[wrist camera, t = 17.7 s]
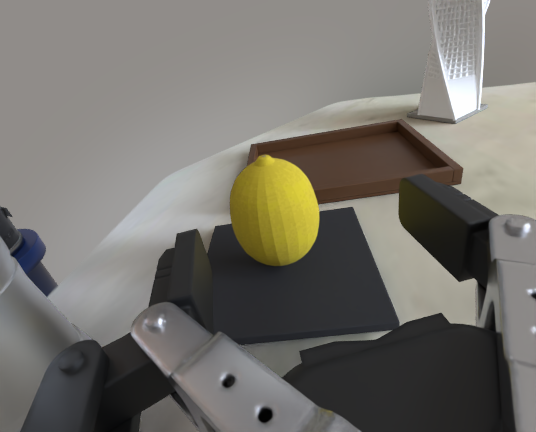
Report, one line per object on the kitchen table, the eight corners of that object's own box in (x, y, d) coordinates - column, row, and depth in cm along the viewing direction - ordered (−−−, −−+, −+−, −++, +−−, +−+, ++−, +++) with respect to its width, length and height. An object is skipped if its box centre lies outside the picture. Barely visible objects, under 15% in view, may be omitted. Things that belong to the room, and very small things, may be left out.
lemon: (323, 291, 19) (309, 171, 15) (237, 292, 21) (202, 182, 16) (324, 237, 24) (313, 133, 20) (253, 240, 25) (229, 144, 21)
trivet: (183, 350, 18) (180, 343, 18) (216, 231, 28) (215, 225, 28) (399, 329, 17) (399, 322, 17) (353, 212, 27) (352, 206, 27)
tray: (243, 214, 30) (239, 201, 29) (253, 154, 43) (251, 144, 42) (461, 183, 28) (463, 168, 27) (401, 130, 41) (402, 118, 40)
